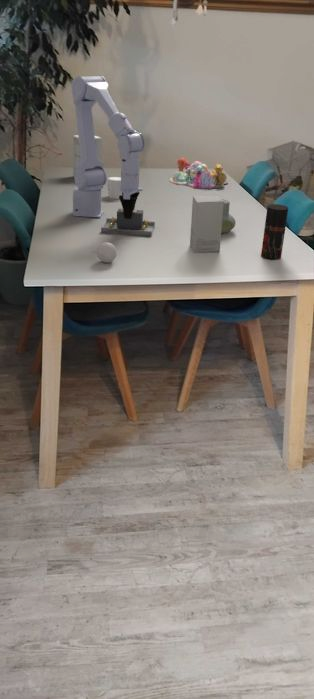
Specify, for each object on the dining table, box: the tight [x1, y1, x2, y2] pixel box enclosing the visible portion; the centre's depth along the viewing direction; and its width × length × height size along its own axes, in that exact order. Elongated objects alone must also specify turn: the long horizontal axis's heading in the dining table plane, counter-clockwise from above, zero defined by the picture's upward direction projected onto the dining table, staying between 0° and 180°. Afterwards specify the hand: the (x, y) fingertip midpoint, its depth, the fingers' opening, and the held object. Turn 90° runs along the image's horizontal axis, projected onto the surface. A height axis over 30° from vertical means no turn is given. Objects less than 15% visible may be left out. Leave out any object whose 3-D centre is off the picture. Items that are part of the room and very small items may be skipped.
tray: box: [100, 216, 156, 237], centre depth 208 cm, size 16×11×3 cm
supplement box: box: [72, 134, 103, 177], centre depth 266 cm, size 10×9×17 cm
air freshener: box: [221, 198, 236, 235], centre depth 210 cm, size 11×8×10 cm
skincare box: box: [189, 195, 224, 253], centre depth 191 cm, size 8×7×16 cm
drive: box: [116, 208, 144, 229], centre depth 207 cm, size 8×4×5 cm, turn 85°
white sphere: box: [92, 241, 118, 264], centre depth 179 cm, size 8×6×6 cm
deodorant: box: [260, 203, 289, 261], centre depth 189 cm, size 6×6×15 cm
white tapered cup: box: [106, 176, 122, 200], centre depth 243 cm, size 7×7×7 cm
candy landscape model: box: [169, 157, 229, 190], centre depth 272 cm, size 25×24×9 cm
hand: (128, 216), depth 207 cm, fingers closed on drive, 4 cm apart
